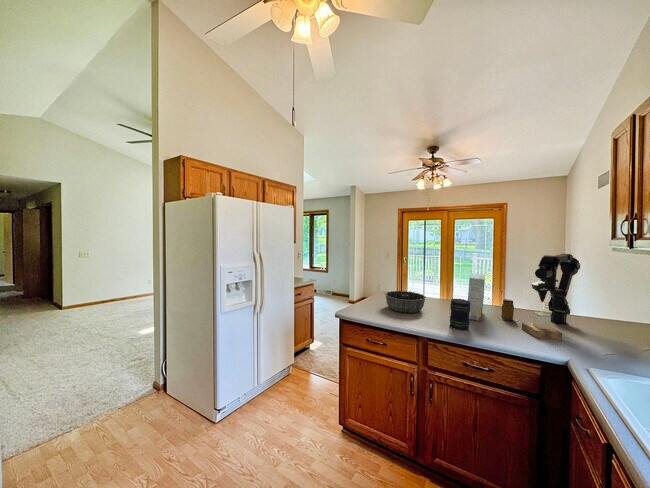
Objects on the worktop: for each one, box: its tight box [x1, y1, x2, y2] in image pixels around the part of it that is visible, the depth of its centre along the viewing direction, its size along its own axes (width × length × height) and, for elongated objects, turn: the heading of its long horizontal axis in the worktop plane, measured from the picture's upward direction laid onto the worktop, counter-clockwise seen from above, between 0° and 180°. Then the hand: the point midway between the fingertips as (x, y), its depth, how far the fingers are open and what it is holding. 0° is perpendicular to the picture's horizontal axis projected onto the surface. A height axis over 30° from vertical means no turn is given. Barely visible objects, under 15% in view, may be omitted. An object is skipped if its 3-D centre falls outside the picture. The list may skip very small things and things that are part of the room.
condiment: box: [498, 298, 519, 323], centre depth 161 cm, size 7×8×12 cm
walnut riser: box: [521, 322, 563, 341], centre depth 139 cm, size 12×12×4 cm
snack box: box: [467, 273, 486, 322], centre depth 167 cm, size 22×9×26 cm, turn 148°
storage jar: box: [449, 298, 471, 331], centre depth 147 cm, size 10×10×15 cm
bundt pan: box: [384, 290, 427, 314], centre depth 178 cm, size 26×26×10 cm
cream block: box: [532, 311, 552, 329], centre depth 139 cm, size 5×5×7 cm
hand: (547, 304), depth 151 cm, fingers open, 9 cm apart
